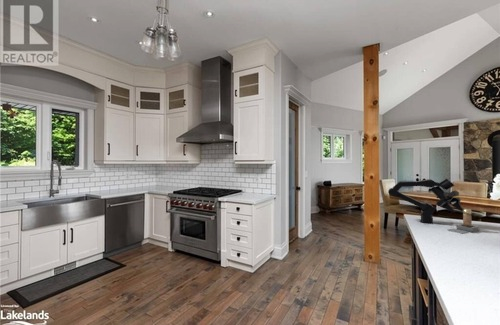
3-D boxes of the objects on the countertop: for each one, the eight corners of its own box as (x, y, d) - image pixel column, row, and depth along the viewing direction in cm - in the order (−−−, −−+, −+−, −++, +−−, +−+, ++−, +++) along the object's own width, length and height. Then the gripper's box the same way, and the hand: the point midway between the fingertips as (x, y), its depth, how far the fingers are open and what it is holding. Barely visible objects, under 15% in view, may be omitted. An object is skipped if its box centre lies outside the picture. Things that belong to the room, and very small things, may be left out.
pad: (447, 230, 151) (447, 229, 151) (453, 229, 153) (453, 228, 153) (461, 233, 143) (461, 233, 143) (468, 232, 146) (468, 231, 146)
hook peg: (461, 229, 151) (461, 209, 151) (465, 229, 153) (465, 208, 153) (469, 231, 148) (469, 210, 148) (473, 230, 149) (472, 209, 149)
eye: (456, 229, 153) (456, 224, 153) (463, 227, 155) (463, 223, 155) (471, 232, 145) (471, 228, 145) (478, 231, 148) (478, 226, 148)
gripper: (441, 187, 156) (460, 206, 146) (457, 186, 163) (477, 203, 153) (428, 197, 164) (446, 215, 153) (444, 195, 170) (463, 212, 160)
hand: (458, 211), depth 155 cm, fingers open, 9 cm apart
